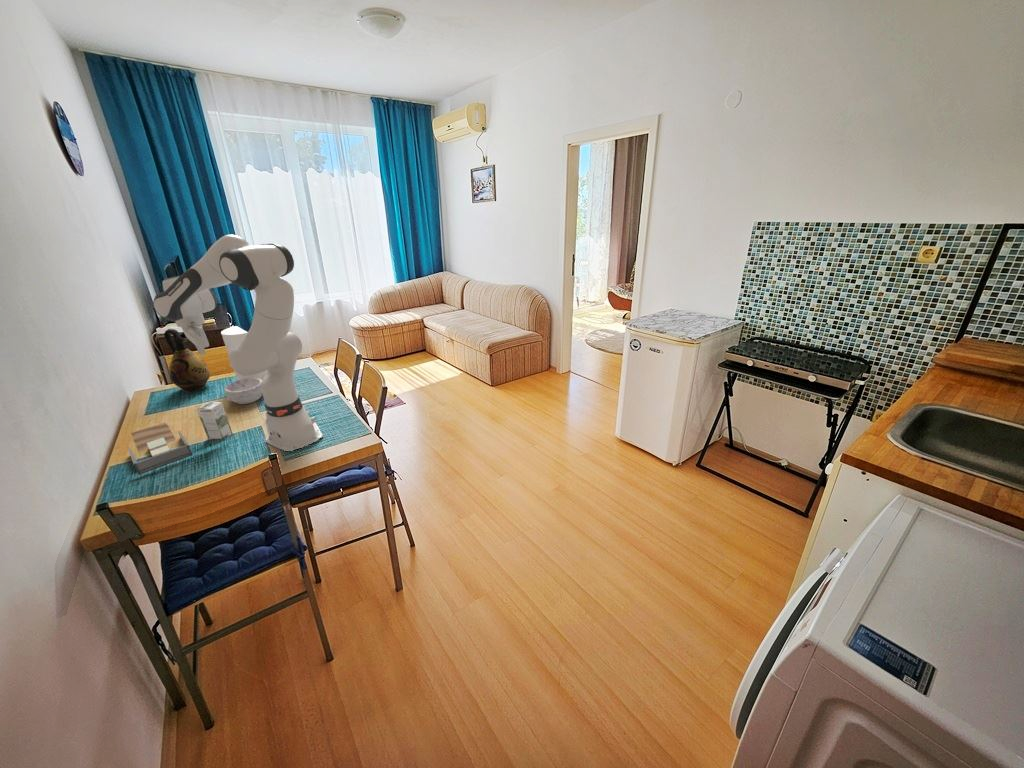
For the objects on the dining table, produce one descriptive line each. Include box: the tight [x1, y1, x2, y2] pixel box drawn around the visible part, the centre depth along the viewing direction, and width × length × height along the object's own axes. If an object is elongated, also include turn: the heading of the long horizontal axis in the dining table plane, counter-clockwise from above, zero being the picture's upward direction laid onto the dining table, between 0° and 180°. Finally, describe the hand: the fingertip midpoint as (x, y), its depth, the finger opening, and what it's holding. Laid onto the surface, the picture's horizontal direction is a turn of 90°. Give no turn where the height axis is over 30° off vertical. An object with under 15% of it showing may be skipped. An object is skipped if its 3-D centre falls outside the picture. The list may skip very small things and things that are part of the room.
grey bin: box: [127, 430, 194, 476], centre depth 146 cm, size 15×15×4 cm
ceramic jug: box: [163, 328, 211, 393], centre depth 194 cm, size 17×15×30 cm
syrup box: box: [196, 401, 233, 440], centre depth 154 cm, size 6×6×14 cm
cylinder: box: [220, 325, 268, 381], centre depth 199 cm, size 17×17×28 cm
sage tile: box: [147, 437, 169, 451], centre depth 149 cm, size 5×5×2 cm
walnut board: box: [130, 422, 177, 453], centre depth 157 cm, size 20×11×2 cm, turn 47°
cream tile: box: [149, 444, 171, 457], centre depth 146 cm, size 5×5×2 cm
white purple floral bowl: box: [224, 378, 263, 405], centre depth 186 cm, size 15×15×8 cm
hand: (202, 353), depth 160 cm, fingers closed
